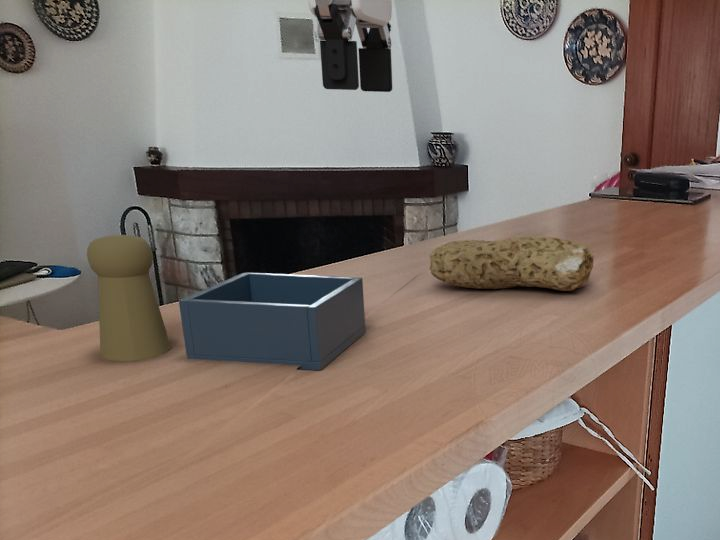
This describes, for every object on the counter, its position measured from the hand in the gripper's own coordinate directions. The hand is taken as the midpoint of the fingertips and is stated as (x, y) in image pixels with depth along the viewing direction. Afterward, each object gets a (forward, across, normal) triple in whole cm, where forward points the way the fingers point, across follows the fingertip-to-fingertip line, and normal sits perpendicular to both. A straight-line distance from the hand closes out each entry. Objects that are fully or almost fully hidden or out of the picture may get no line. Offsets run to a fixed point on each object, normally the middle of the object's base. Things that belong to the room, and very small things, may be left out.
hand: (359, 90), depth 75 cm
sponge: (+24, -22, +11) cm, 34 cm away
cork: (+24, +14, -18) cm, 33 cm away
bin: (+24, +8, -6) cm, 26 cm away
